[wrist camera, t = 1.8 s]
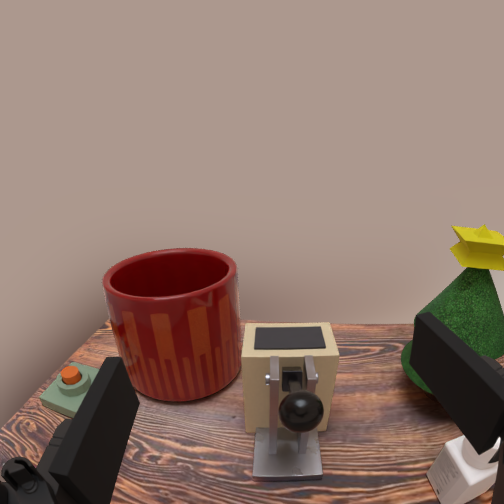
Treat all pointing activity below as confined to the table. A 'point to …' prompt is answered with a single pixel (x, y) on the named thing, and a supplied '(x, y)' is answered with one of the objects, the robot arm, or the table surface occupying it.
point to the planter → (176, 321)
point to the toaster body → (285, 365)
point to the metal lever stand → (286, 437)
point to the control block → (68, 391)
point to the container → (462, 471)
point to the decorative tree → (470, 298)
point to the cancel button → (70, 375)
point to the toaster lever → (298, 403)
